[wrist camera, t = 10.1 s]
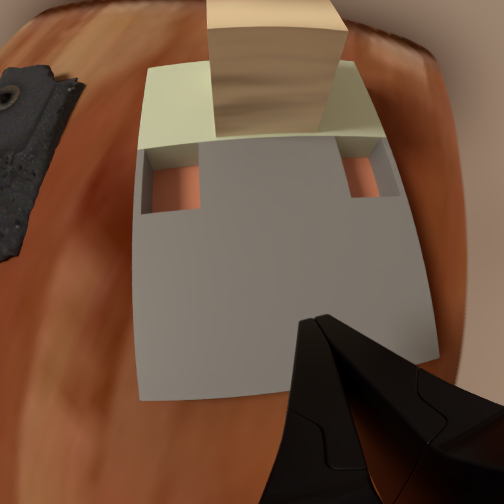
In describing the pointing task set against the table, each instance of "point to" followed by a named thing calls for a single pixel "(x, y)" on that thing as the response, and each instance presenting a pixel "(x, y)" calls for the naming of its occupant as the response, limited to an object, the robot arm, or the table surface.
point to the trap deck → (265, 241)
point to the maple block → (272, 64)
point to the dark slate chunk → (28, 142)
